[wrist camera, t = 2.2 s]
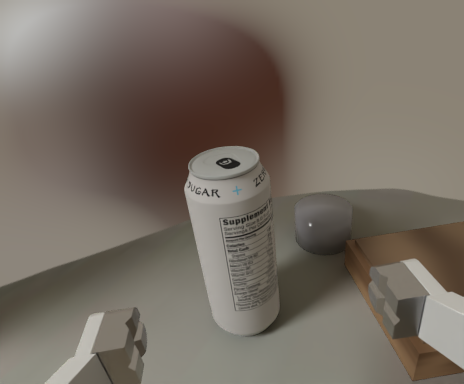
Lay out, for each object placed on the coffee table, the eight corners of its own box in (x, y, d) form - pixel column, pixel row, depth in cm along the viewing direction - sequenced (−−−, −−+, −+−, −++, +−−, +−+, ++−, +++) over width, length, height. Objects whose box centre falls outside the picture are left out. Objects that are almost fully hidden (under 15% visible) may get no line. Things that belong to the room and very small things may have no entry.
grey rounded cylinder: (286, 245, 37) (284, 215, 35) (308, 217, 41) (307, 189, 39) (340, 262, 34) (341, 230, 32) (357, 230, 38) (360, 200, 36)
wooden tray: (412, 380, 23) (420, 348, 21) (344, 264, 33) (346, 236, 32) (580, 351, 23) (601, 318, 21) (460, 245, 34) (468, 216, 32)
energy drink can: (252, 278, 33) (233, 136, 26) (294, 314, 29) (287, 157, 21) (200, 310, 31) (164, 162, 23) (239, 356, 26) (209, 192, 19)
